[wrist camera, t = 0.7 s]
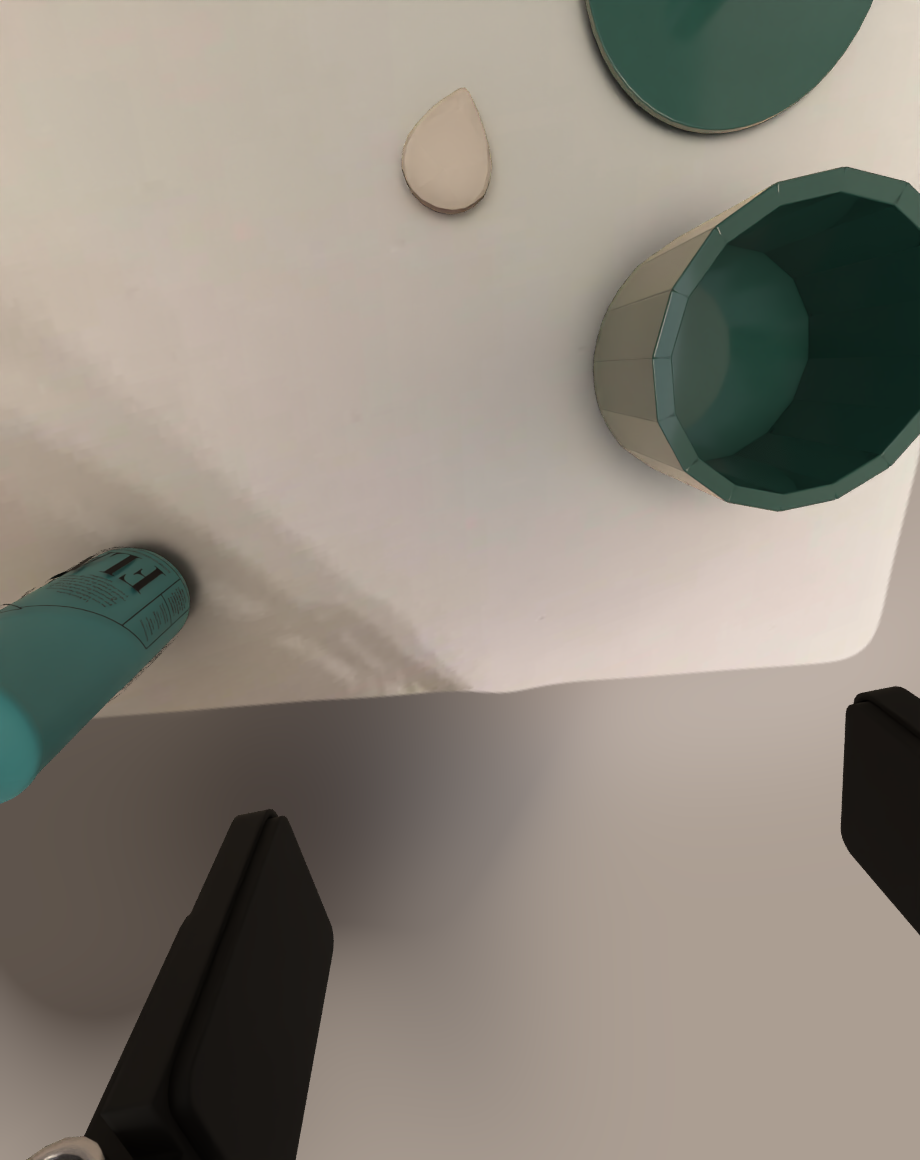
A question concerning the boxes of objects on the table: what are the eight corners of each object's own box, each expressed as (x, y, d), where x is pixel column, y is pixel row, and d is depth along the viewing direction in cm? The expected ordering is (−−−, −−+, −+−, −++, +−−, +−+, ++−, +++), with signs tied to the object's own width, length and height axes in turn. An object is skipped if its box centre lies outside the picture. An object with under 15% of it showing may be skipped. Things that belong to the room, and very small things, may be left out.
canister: (578, 261, 30) (639, 214, 21) (818, 205, 29) (986, 132, 20) (606, 493, 34) (667, 536, 25) (815, 447, 33) (952, 475, 25)
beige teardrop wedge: (395, 202, 28) (391, 186, 26) (420, 84, 27) (418, 56, 24) (477, 229, 29) (480, 217, 26) (506, 115, 27) (512, 91, 25)
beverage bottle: (206, 545, 34) (-74, 759, 15) (202, 642, 36) (-48, 931, 18) (94, 526, 33) (-342, 725, 15) (97, 626, 36) (-279, 908, 17)
